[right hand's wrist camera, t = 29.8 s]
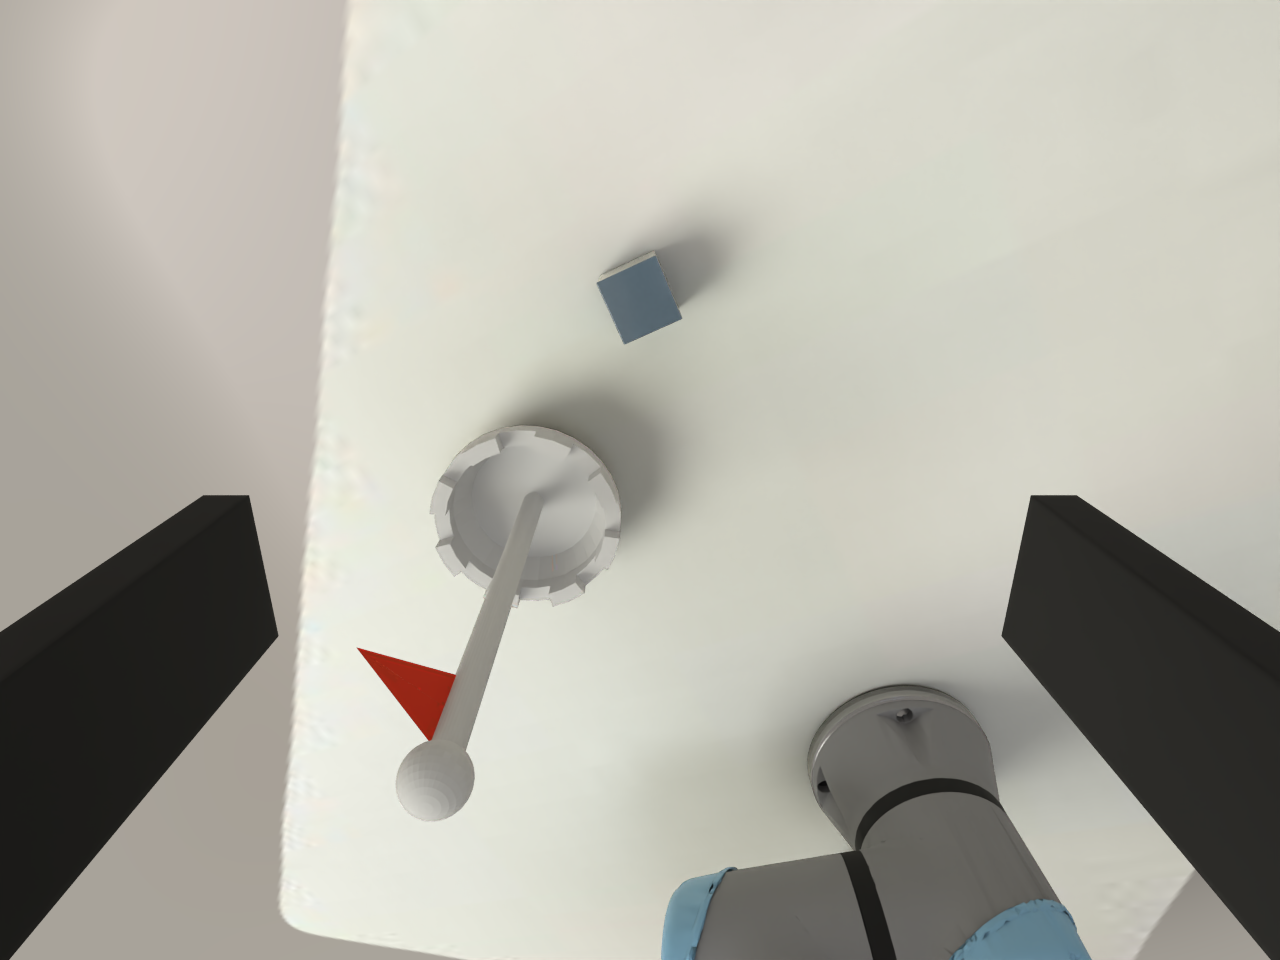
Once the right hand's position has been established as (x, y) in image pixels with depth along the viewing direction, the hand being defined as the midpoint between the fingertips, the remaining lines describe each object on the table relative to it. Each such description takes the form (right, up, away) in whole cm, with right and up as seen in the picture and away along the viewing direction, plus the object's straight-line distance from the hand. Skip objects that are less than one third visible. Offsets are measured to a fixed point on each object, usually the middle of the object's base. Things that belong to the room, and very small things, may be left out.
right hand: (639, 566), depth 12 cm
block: (0, +14, +37) cm, 40 cm away
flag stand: (-8, 0, +42) cm, 43 cm away
